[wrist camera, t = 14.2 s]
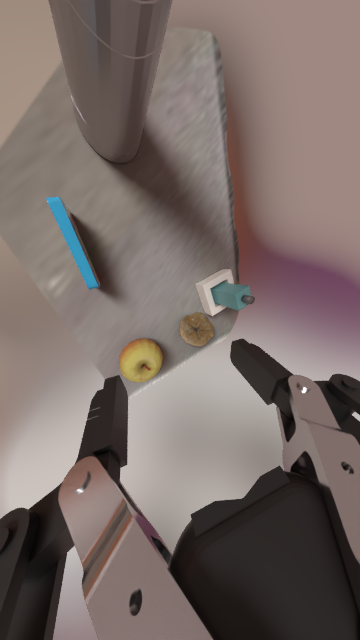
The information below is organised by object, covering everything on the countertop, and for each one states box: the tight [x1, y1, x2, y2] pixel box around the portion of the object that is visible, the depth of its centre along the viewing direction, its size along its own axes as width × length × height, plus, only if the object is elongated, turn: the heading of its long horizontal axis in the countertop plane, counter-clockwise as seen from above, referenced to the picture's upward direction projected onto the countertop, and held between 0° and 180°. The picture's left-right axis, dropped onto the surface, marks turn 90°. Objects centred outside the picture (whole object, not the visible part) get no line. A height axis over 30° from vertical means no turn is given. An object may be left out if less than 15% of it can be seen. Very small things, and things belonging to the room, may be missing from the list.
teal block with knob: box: [210, 282, 255, 311], centre depth 35 cm, size 4×4×13 cm
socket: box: [195, 269, 234, 316], centre depth 39 cm, size 9×9×4 cm
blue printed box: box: [46, 197, 101, 289], centre depth 23 cm, size 12×2×6 cm, turn 13°
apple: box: [119, 339, 163, 382], centre depth 33 cm, size 10×10×8 cm
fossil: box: [180, 313, 214, 347], centre depth 39 cm, size 9×4×10 cm
